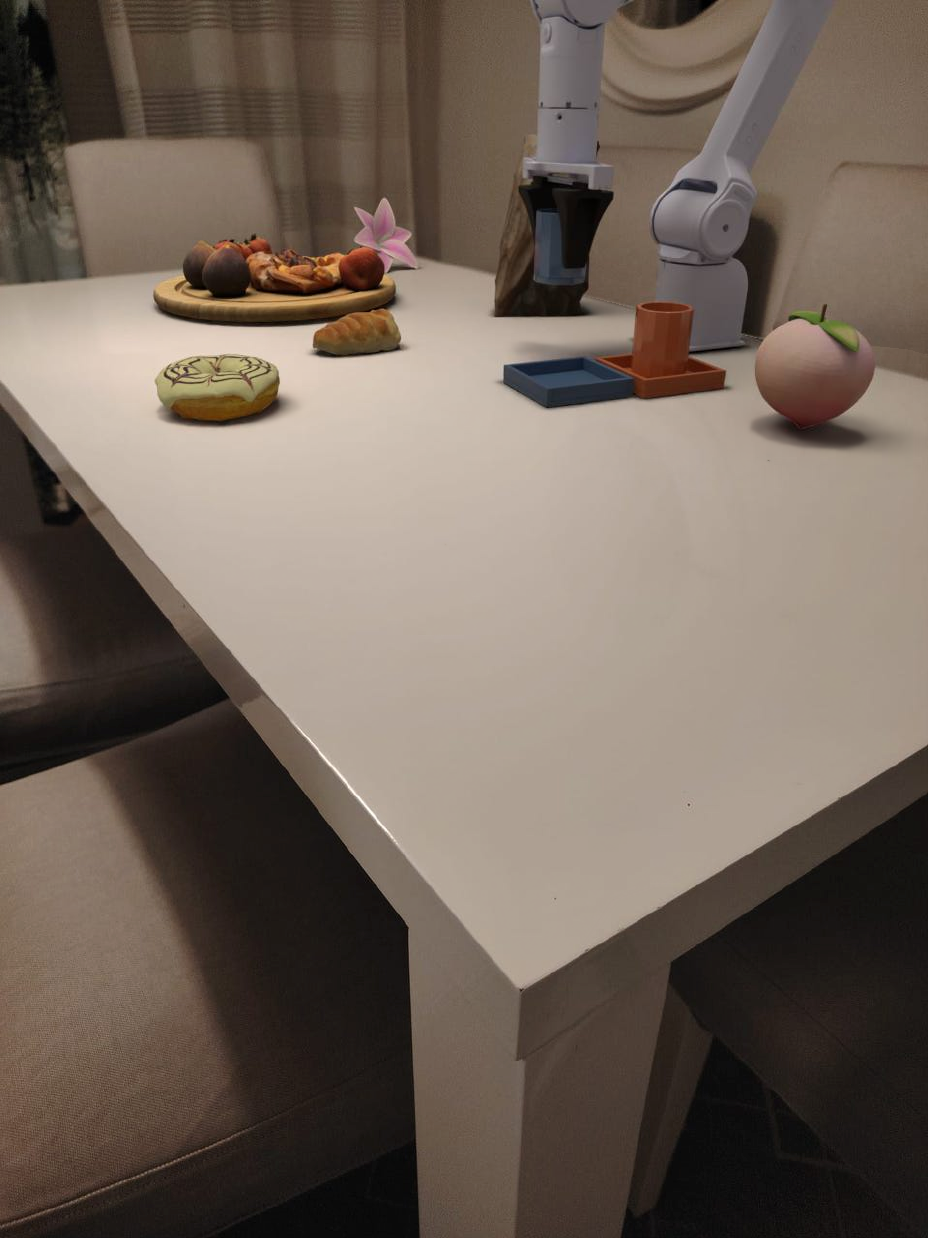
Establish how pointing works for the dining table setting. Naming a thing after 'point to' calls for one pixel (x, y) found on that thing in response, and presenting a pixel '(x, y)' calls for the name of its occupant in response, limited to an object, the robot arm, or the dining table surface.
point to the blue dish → (567, 381)
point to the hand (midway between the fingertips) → (560, 263)
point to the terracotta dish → (669, 377)
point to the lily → (385, 235)
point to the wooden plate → (273, 283)
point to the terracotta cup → (661, 339)
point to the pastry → (359, 333)
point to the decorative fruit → (813, 368)
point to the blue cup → (552, 252)
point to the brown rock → (529, 261)
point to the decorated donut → (218, 386)
